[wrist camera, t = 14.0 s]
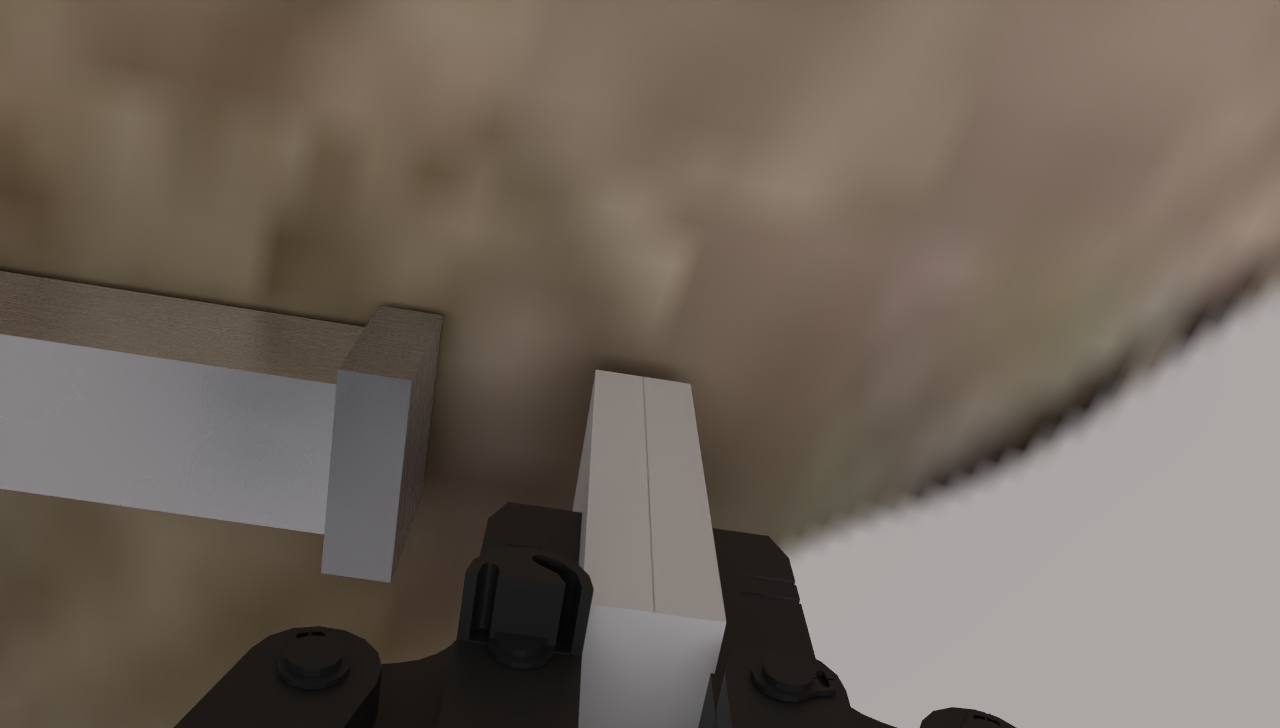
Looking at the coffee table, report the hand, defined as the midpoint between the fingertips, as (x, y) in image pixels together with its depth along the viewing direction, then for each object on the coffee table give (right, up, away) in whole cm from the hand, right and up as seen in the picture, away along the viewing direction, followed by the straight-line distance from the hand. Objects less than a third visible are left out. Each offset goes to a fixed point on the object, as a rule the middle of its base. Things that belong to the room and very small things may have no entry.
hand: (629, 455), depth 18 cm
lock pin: (-9, +2, +1) cm, 9 cm away
